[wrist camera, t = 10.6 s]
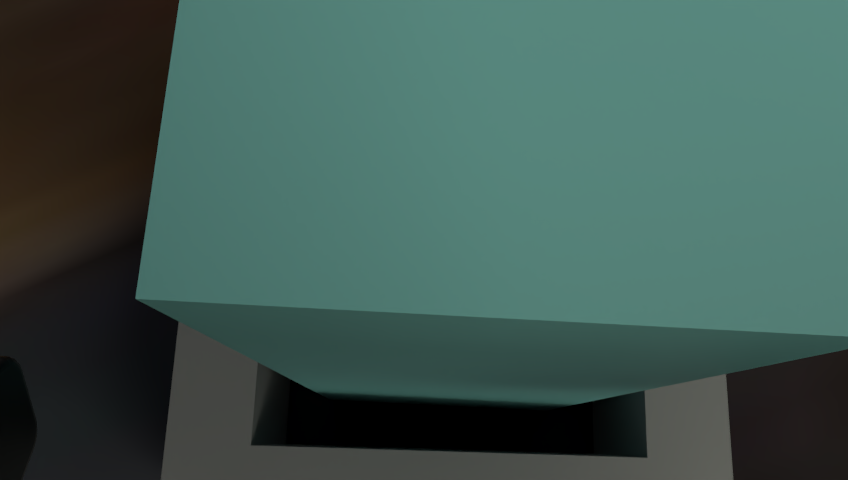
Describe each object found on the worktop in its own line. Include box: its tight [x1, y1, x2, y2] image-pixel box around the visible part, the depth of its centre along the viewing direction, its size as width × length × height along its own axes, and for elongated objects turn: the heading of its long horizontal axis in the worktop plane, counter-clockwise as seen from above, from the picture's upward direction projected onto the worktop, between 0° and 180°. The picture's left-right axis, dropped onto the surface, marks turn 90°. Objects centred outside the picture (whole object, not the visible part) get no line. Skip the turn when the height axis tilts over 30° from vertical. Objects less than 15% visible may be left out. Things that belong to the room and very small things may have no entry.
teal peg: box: [135, 0, 848, 411], centre depth 12 cm, size 5×5×13 cm
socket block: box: [161, 322, 733, 480], centre depth 16 cm, size 10×10×4 cm
